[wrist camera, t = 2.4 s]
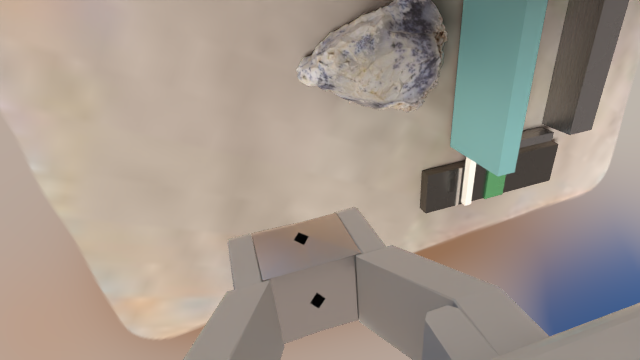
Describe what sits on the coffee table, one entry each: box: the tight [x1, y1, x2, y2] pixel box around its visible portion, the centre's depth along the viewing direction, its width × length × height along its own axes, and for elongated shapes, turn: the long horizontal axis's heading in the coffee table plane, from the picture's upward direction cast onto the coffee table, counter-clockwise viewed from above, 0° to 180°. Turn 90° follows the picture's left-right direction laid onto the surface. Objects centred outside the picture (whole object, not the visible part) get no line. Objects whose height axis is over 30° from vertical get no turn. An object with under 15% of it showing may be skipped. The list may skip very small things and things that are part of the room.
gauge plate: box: [450, 0, 548, 206], centre depth 27 cm, size 23×2×6 cm, turn 5°
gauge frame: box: [420, 0, 629, 213], centre depth 29 cm, size 25×15×3 cm, turn 5°
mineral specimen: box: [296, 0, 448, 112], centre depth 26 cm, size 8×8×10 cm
